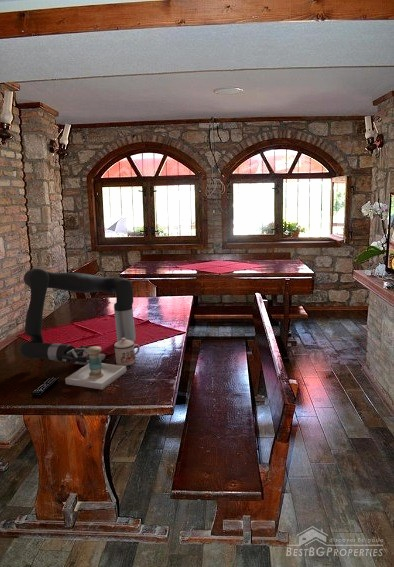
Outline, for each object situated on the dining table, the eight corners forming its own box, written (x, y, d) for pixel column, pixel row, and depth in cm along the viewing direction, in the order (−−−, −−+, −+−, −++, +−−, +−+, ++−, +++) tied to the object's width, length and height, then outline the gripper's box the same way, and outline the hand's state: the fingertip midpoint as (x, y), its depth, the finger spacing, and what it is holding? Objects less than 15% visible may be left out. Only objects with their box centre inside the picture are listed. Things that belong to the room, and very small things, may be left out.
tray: (92, 367, 202) (91, 361, 201) (126, 371, 195) (126, 366, 194) (65, 384, 186) (65, 378, 185) (102, 389, 179) (101, 383, 178)
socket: (88, 356, 215) (88, 352, 215) (105, 358, 212) (104, 354, 211) (75, 363, 207) (75, 359, 206) (93, 366, 203) (92, 361, 203)
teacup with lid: (121, 368, 199) (118, 343, 196) (112, 362, 206) (109, 338, 204) (145, 360, 206) (143, 336, 203) (135, 355, 213) (133, 332, 210)
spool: (94, 372, 194) (91, 345, 192) (106, 373, 192) (103, 347, 189) (86, 377, 189) (83, 350, 186) (98, 379, 186) (95, 352, 184)
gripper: (49, 350, 188) (81, 353, 182) (70, 338, 201) (101, 341, 194) (51, 367, 189) (83, 371, 183) (72, 354, 202) (103, 358, 196)
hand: (92, 356), depth 189 cm, fingers open, 8 cm apart
